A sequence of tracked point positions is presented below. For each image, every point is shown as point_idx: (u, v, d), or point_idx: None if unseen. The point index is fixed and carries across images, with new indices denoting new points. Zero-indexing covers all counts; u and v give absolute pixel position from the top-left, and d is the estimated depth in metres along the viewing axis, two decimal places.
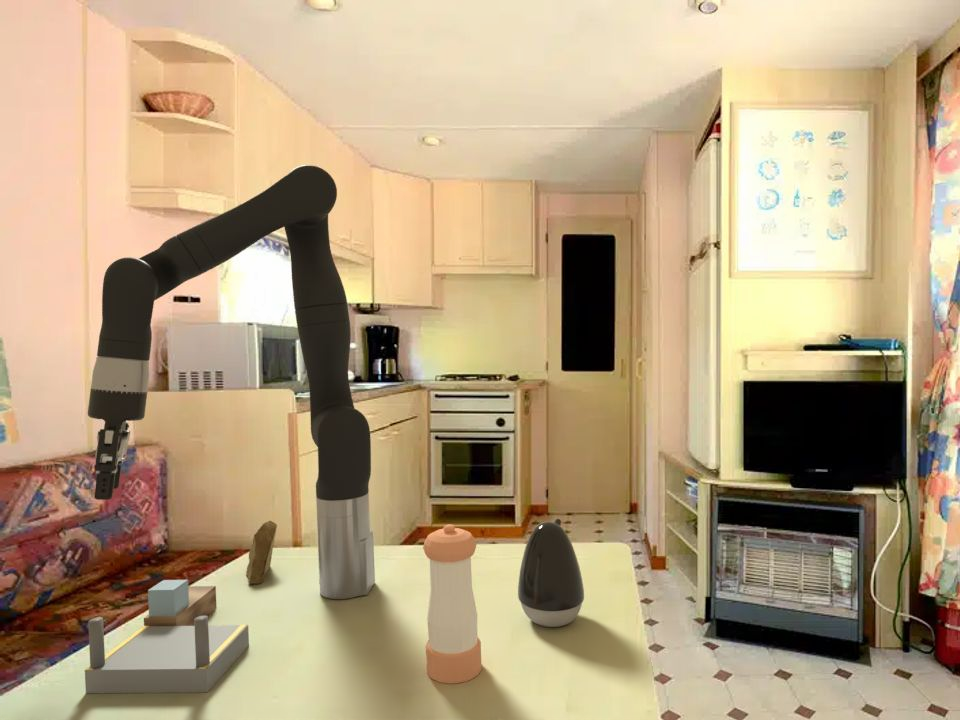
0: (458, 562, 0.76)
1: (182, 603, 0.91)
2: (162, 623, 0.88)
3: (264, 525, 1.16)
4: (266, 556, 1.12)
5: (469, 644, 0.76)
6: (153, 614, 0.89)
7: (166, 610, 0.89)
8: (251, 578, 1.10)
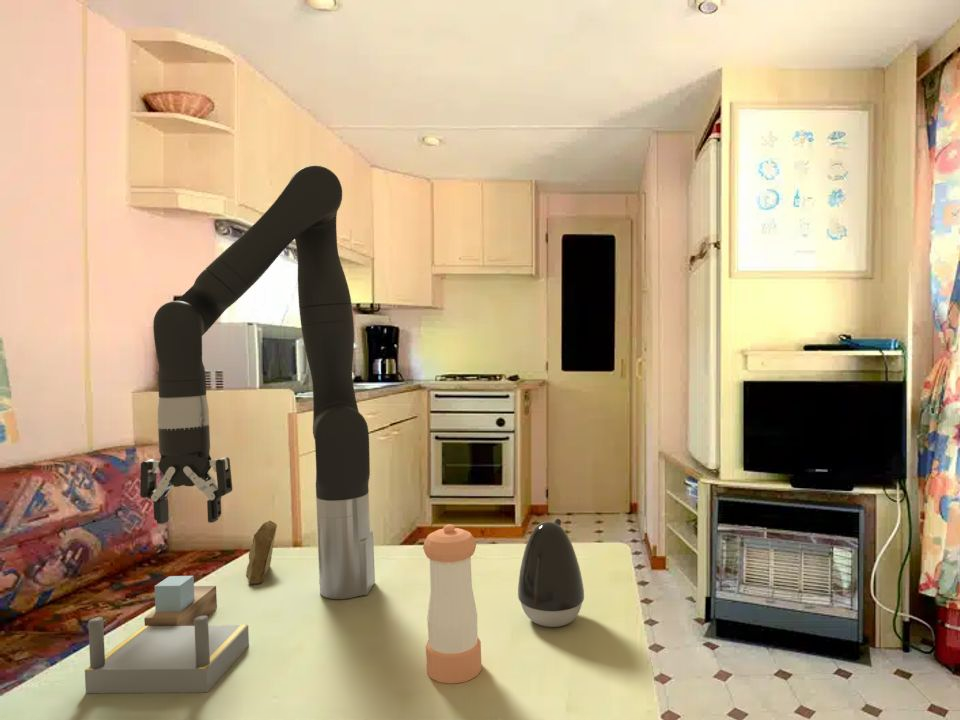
0: (458, 562, 0.76)
1: (188, 599, 0.93)
2: (163, 623, 0.89)
3: (264, 525, 1.16)
4: (266, 556, 1.12)
5: (469, 644, 0.76)
6: (159, 609, 0.91)
7: (172, 605, 0.91)
8: (251, 578, 1.10)
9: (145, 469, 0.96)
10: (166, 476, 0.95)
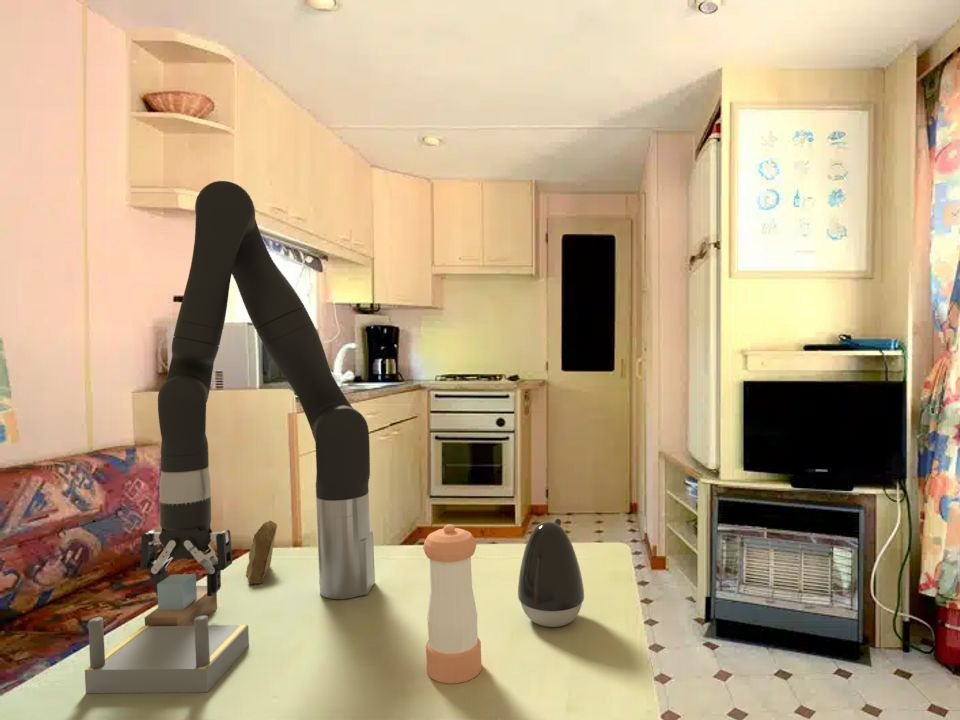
0: (458, 562, 0.76)
1: (190, 597, 0.93)
2: (163, 622, 0.89)
3: (264, 525, 1.16)
4: (266, 556, 1.12)
5: (469, 644, 0.76)
6: (162, 607, 0.91)
7: (175, 603, 0.91)
8: (251, 578, 1.10)
9: (146, 541, 0.96)
10: (166, 549, 0.95)
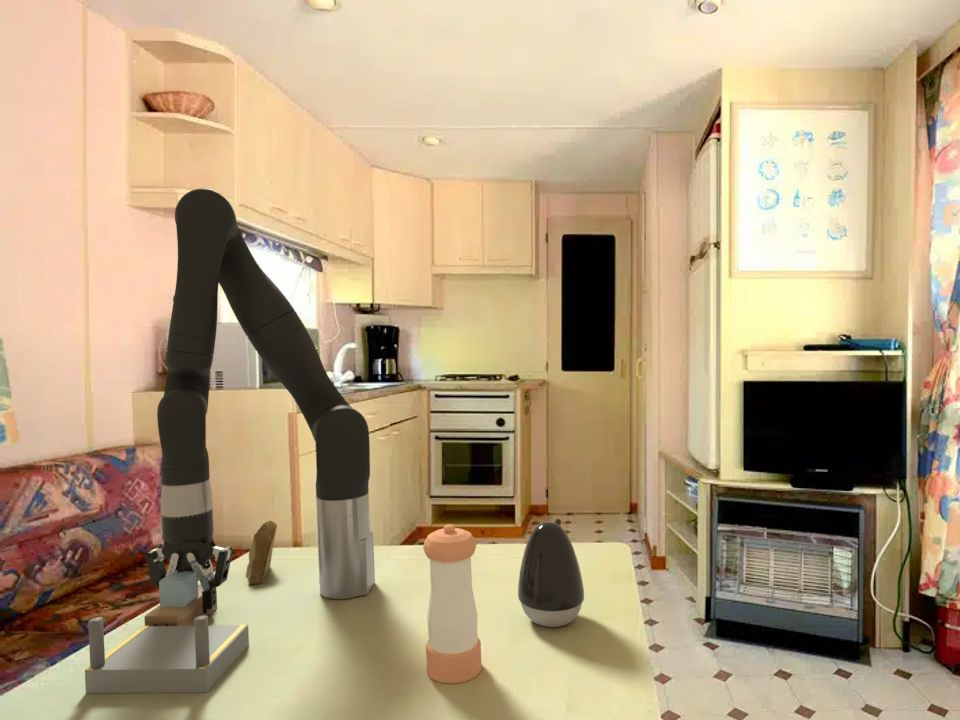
0: (458, 562, 0.76)
1: (192, 594, 0.94)
2: (163, 621, 0.89)
3: (264, 525, 1.16)
4: (266, 556, 1.12)
5: (469, 644, 0.76)
6: (164, 605, 0.92)
7: (177, 601, 0.92)
8: (251, 578, 1.10)
9: (150, 560, 0.96)
10: (172, 564, 0.95)
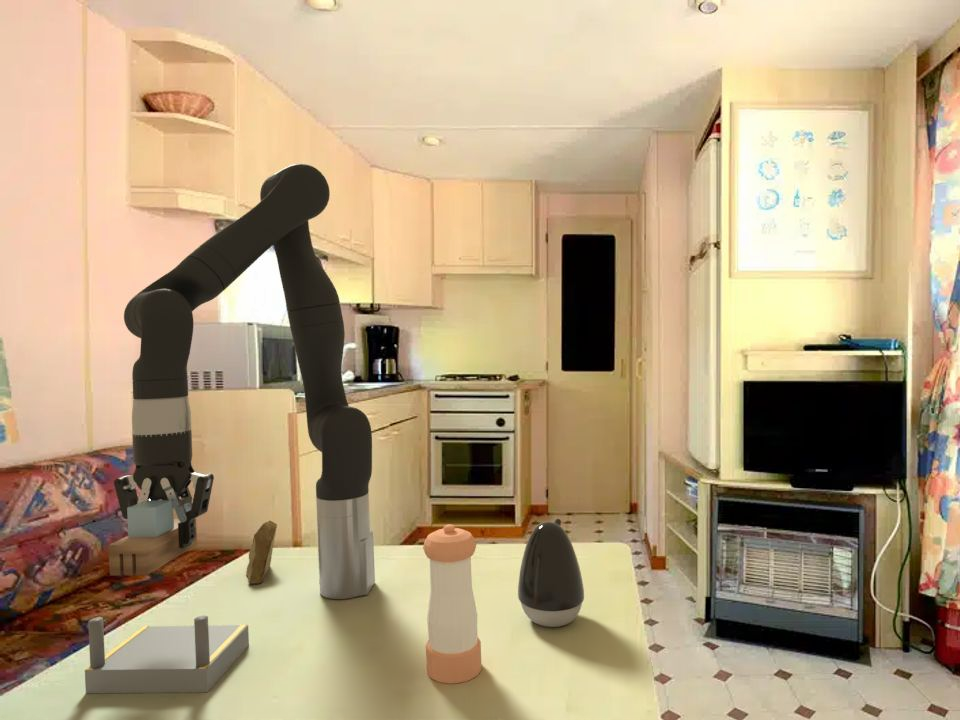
0: (458, 562, 0.76)
1: (166, 524, 0.82)
2: (130, 551, 0.76)
3: (264, 525, 1.16)
4: (266, 556, 1.12)
5: (469, 644, 0.76)
6: (133, 535, 0.80)
7: (147, 530, 0.80)
8: (251, 578, 1.10)
9: (120, 486, 0.84)
10: (144, 491, 0.83)
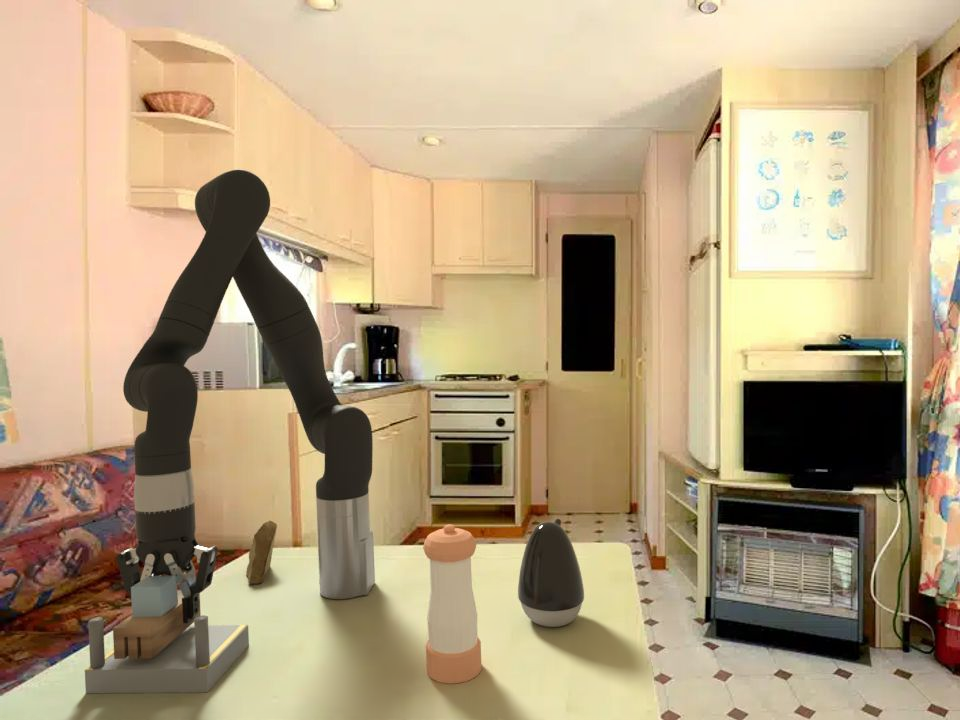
0: (458, 562, 0.76)
1: (170, 602, 0.81)
2: (134, 634, 0.76)
3: (264, 525, 1.16)
4: (266, 556, 1.12)
5: (469, 644, 0.76)
6: (137, 614, 0.79)
7: (151, 610, 0.79)
8: (251, 578, 1.10)
9: (122, 562, 0.83)
10: (147, 566, 0.83)
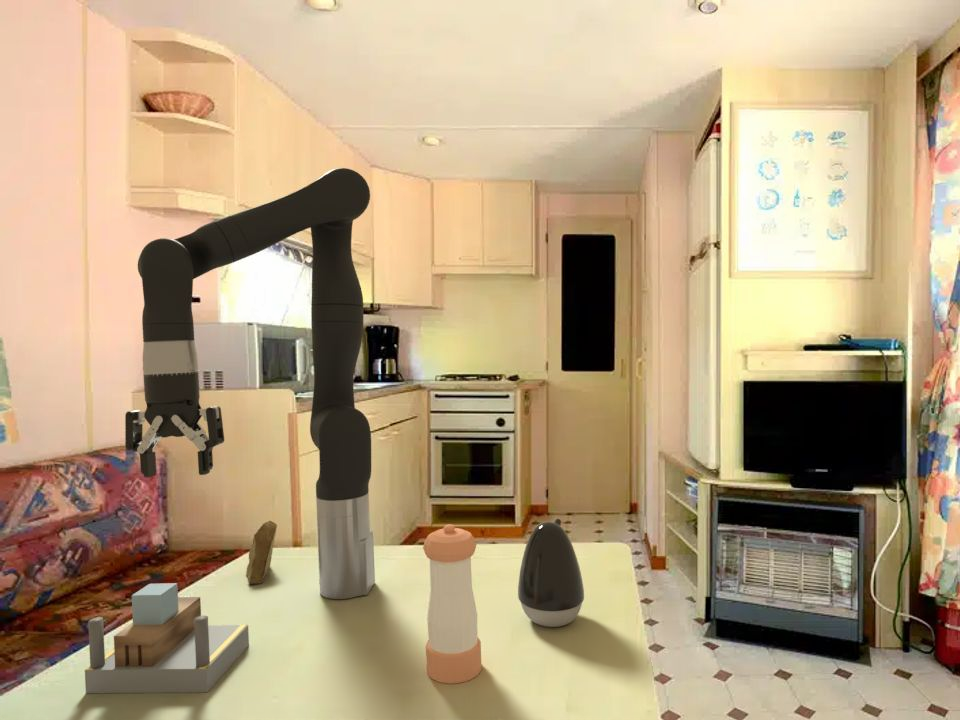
0: (458, 562, 0.76)
1: (170, 610, 0.81)
2: (135, 642, 0.76)
3: (264, 525, 1.16)
4: (266, 556, 1.12)
5: (469, 644, 0.76)
6: (137, 622, 0.79)
7: (152, 618, 0.79)
8: (251, 578, 1.10)
9: (130, 419, 0.90)
10: (153, 426, 0.90)
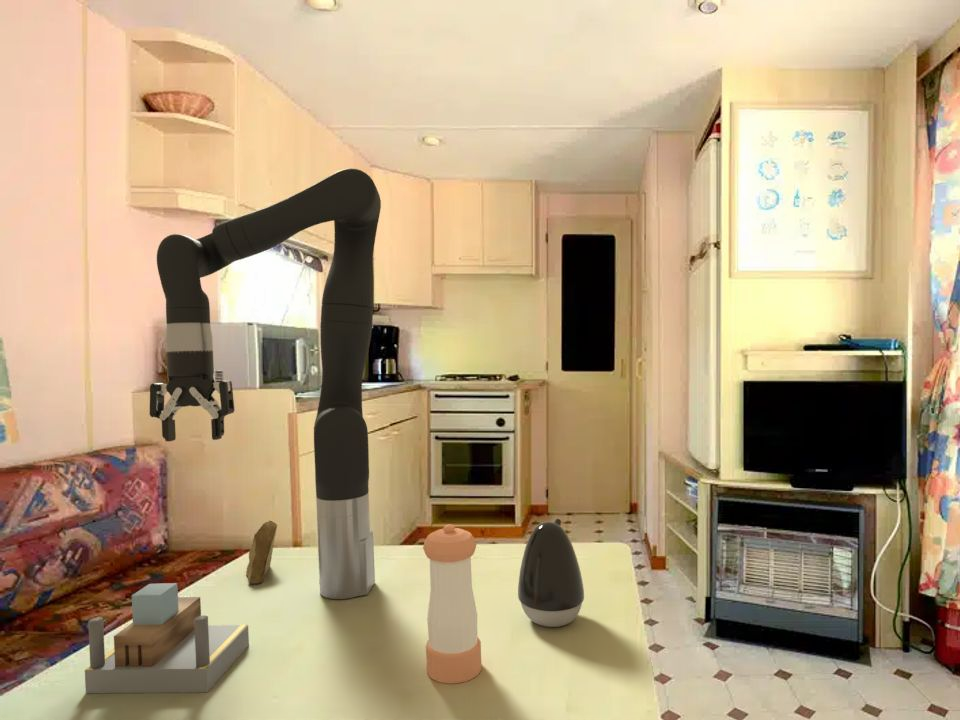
0: (458, 562, 0.76)
1: (170, 610, 0.81)
2: (135, 642, 0.76)
3: (264, 525, 1.16)
4: (266, 556, 1.12)
5: (469, 644, 0.76)
6: (137, 622, 0.79)
7: (152, 618, 0.79)
8: (251, 578, 1.10)
9: (154, 390, 1.04)
10: (173, 396, 1.04)
